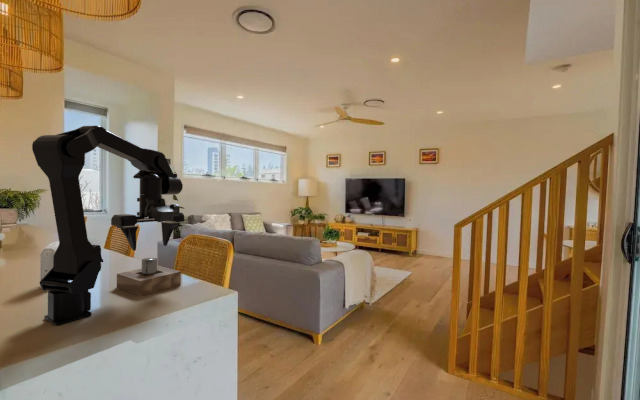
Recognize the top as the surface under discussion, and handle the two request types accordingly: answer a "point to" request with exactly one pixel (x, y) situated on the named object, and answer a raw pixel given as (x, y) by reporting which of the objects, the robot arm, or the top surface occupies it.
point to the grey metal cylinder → (149, 266)
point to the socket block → (148, 280)
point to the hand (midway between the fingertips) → (150, 247)
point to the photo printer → (47, 258)
